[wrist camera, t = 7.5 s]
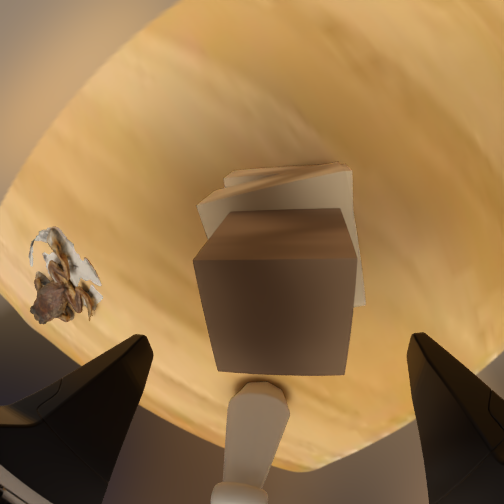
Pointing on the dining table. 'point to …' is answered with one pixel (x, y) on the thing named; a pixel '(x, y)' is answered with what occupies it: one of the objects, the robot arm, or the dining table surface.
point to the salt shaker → (251, 443)
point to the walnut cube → (279, 291)
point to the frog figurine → (62, 280)
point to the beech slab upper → (288, 202)
